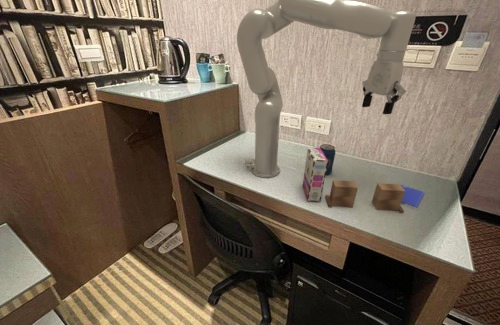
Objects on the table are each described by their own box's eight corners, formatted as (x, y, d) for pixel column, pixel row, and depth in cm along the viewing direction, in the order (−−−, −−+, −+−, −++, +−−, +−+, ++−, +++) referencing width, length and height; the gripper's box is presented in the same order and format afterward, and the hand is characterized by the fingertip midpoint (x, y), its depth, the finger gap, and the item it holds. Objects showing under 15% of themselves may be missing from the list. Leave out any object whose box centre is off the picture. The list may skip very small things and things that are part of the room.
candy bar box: (321, 202, 84) (329, 161, 77) (307, 202, 84) (313, 160, 77) (314, 185, 94) (320, 147, 87) (302, 185, 94) (307, 146, 87)
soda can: (313, 174, 102) (317, 148, 97) (316, 167, 108) (320, 142, 102) (330, 177, 99) (335, 151, 94) (332, 170, 105) (337, 145, 100)
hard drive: (400, 184, 94) (391, 197, 86) (424, 192, 89) (417, 207, 81) (399, 187, 94) (389, 200, 86) (423, 195, 89) (415, 210, 81)
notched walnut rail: (328, 207, 82) (332, 187, 78) (325, 197, 87) (328, 178, 83) (403, 213, 79) (410, 193, 76) (395, 202, 85) (402, 183, 81)
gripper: (361, 55, 82) (350, 104, 90) (404, 59, 68) (387, 118, 75) (378, 55, 84) (366, 103, 92) (424, 59, 70) (405, 116, 78)
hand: (375, 110), depth 84 cm, fingers open, 9 cm apart
